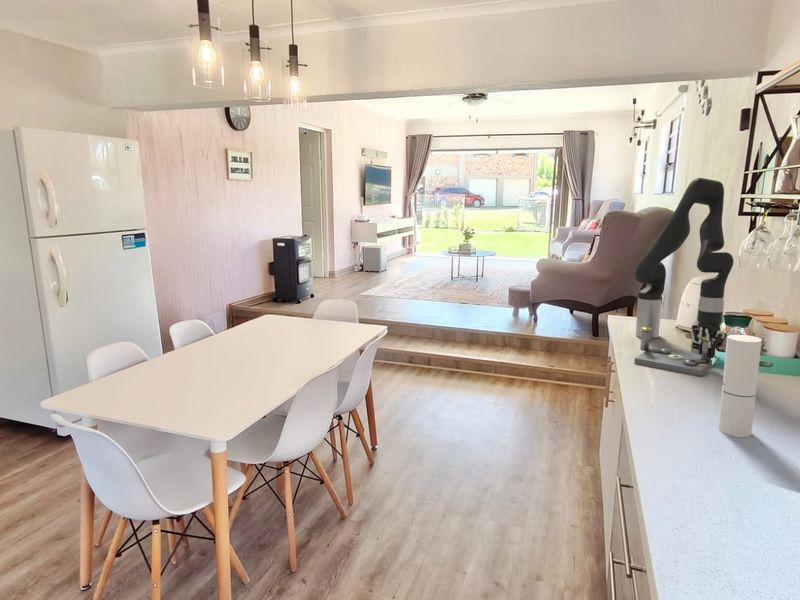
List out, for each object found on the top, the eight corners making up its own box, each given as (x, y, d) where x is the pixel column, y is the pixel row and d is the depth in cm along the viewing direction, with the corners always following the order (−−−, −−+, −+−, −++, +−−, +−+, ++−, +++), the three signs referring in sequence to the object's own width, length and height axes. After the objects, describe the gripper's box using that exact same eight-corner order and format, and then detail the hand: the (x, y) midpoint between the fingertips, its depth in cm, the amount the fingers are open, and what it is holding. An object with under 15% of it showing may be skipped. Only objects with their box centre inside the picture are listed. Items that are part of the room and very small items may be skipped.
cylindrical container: (746, 426, 130) (756, 335, 126) (755, 438, 124) (766, 342, 119) (715, 423, 133) (723, 333, 128) (722, 435, 126) (732, 341, 121)
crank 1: (670, 351, 190) (671, 328, 188) (671, 354, 186) (672, 330, 184) (639, 349, 194) (640, 326, 192) (639, 351, 190) (641, 328, 189)
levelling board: (653, 351, 197) (653, 345, 197) (716, 362, 182) (717, 355, 182) (634, 363, 184) (634, 356, 183) (700, 376, 168) (701, 369, 168)
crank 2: (689, 366, 172) (691, 341, 171) (680, 362, 176) (682, 338, 175) (714, 363, 175) (717, 338, 173) (705, 359, 179) (707, 335, 177)
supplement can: (708, 352, 194) (711, 315, 191) (719, 358, 186) (723, 320, 183) (686, 352, 195) (689, 315, 192) (697, 358, 187) (700, 320, 184)
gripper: (736, 312, 166) (731, 361, 170) (704, 304, 180) (700, 349, 183) (717, 314, 165) (712, 363, 169) (686, 305, 179) (682, 351, 182)
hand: (706, 355), depth 176 cm, fingers closed on crank 2, 3 cm apart
